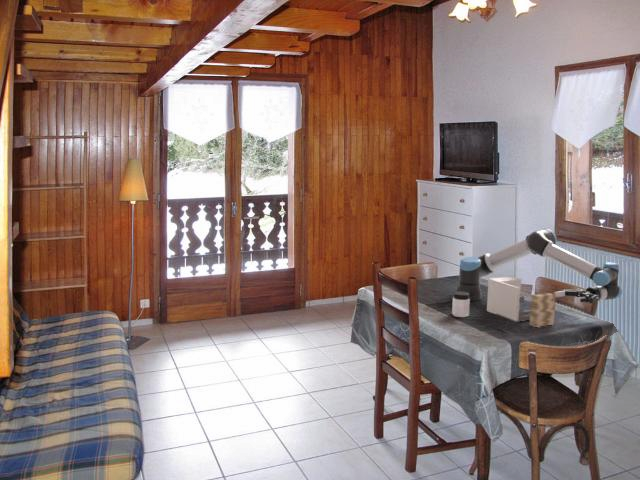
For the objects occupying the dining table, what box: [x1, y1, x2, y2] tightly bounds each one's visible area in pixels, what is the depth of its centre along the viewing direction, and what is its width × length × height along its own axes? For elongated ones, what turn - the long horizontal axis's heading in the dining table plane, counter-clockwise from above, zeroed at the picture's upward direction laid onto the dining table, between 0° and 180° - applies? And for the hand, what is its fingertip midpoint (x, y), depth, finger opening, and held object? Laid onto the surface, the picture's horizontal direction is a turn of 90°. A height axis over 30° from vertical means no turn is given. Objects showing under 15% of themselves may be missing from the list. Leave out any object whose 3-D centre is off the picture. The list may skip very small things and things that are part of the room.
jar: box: [451, 291, 471, 318], centre depth 337 cm, size 9×8×12 cm
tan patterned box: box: [529, 292, 557, 328], centre depth 320 cm, size 12×4×16 cm, turn 114°
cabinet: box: [486, 276, 531, 323], centre depth 339 cm, size 16×23×18 cm, turn 24°
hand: (564, 297), depth 324 cm, fingers open, 13 cm apart
